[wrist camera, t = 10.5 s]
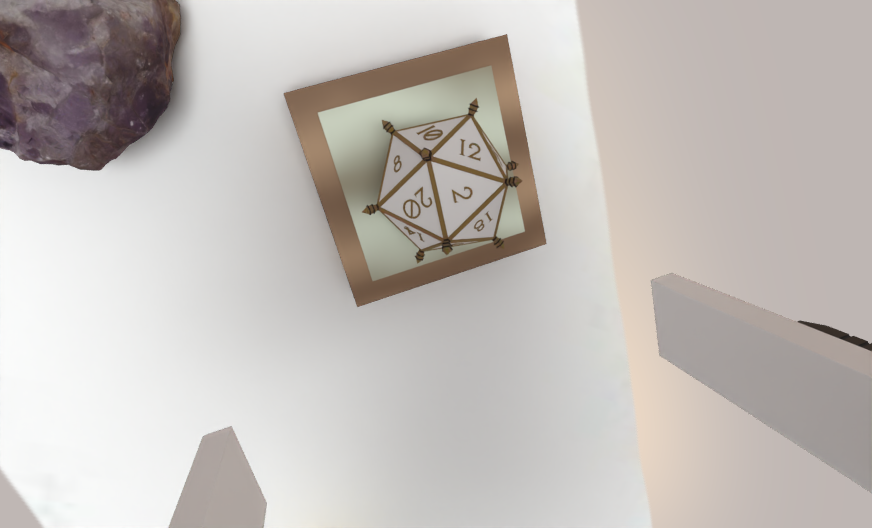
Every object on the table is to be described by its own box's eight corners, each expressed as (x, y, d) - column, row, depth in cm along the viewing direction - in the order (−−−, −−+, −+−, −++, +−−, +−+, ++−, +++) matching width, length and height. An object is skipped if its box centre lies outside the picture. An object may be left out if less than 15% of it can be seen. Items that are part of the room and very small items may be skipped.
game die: (421, 200, 35) (420, 319, 29) (343, 115, 29) (320, 240, 23) (536, 146, 31) (563, 269, 25) (473, 36, 25) (486, 160, 19)
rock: (-22, 28, 28) (82, 188, 31) (-193, -3, 20) (-29, 218, 23) (159, -53, 27) (246, 118, 31) (58, -120, 19) (191, 123, 22)
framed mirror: (524, 231, 38) (548, 244, 34) (353, 287, 36) (357, 308, 32) (485, 44, 33) (508, 33, 29) (287, 96, 31) (283, 92, 27)
